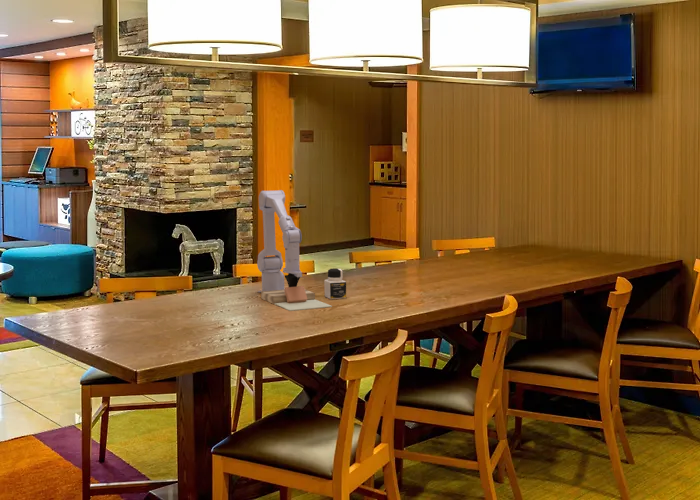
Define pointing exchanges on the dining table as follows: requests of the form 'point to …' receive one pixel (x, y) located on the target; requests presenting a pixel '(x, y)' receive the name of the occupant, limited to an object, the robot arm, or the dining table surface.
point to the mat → (303, 305)
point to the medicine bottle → (335, 284)
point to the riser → (281, 296)
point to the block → (295, 294)
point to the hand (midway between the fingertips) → (292, 292)
